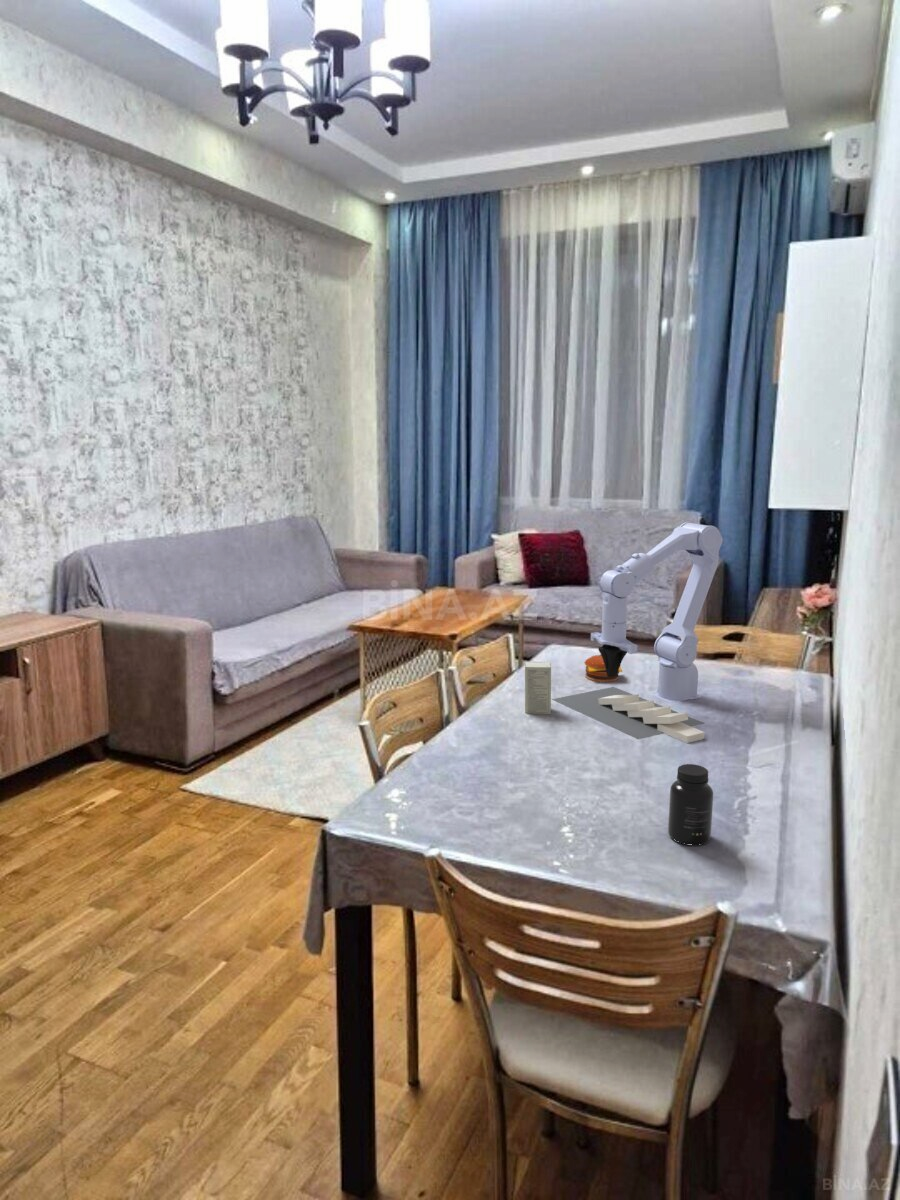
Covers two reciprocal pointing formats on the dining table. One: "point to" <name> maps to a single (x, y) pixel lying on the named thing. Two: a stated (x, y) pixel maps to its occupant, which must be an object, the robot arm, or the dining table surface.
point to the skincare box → (538, 687)
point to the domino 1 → (618, 699)
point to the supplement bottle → (691, 806)
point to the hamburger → (598, 670)
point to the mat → (614, 712)
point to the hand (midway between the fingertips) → (612, 675)
